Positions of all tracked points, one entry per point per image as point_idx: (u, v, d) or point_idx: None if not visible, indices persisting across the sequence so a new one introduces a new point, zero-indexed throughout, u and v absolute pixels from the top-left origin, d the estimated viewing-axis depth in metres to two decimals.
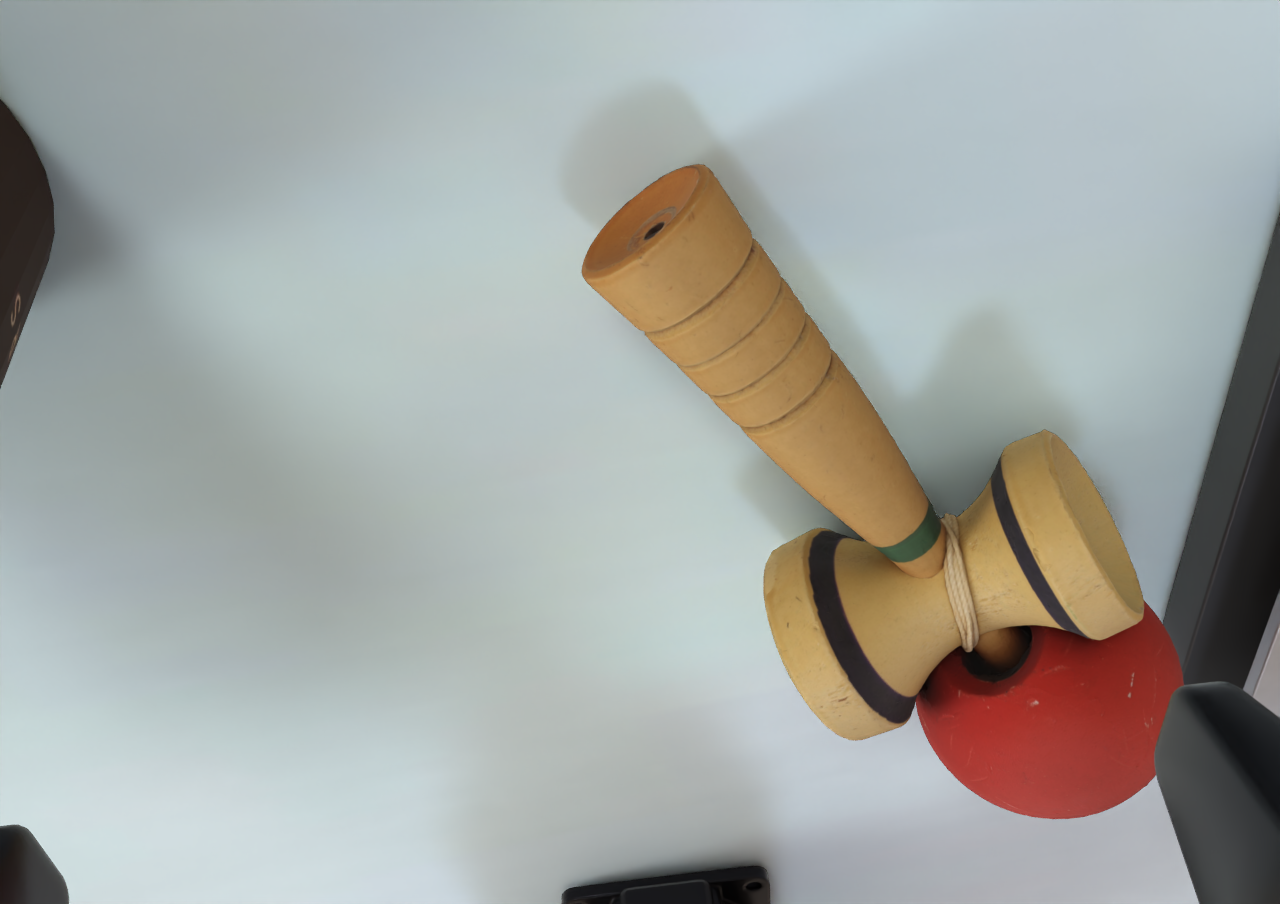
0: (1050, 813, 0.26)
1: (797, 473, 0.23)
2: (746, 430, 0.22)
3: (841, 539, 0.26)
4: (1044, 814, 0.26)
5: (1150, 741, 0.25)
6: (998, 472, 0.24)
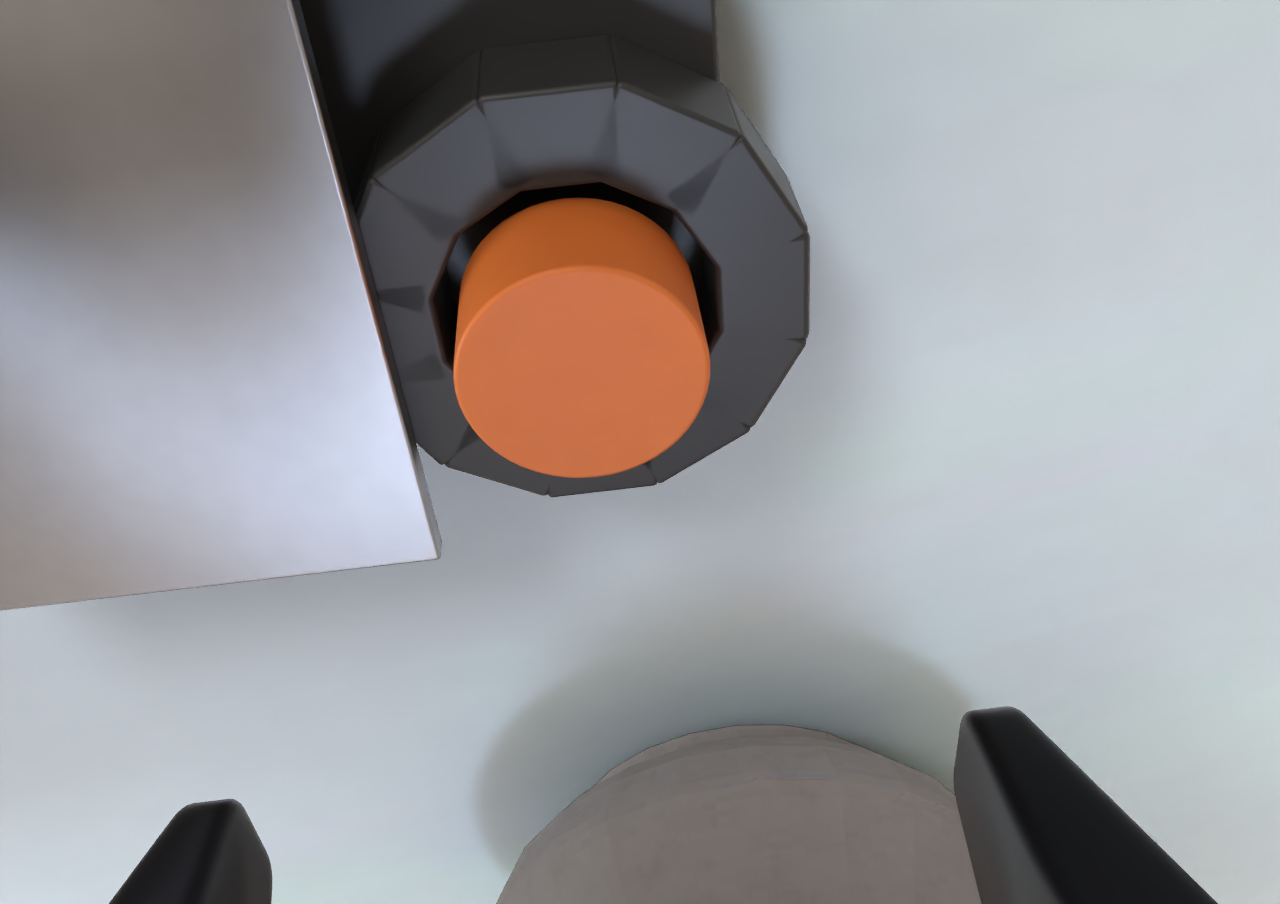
0: None
1: None
2: None
3: None
4: None
5: None
6: None
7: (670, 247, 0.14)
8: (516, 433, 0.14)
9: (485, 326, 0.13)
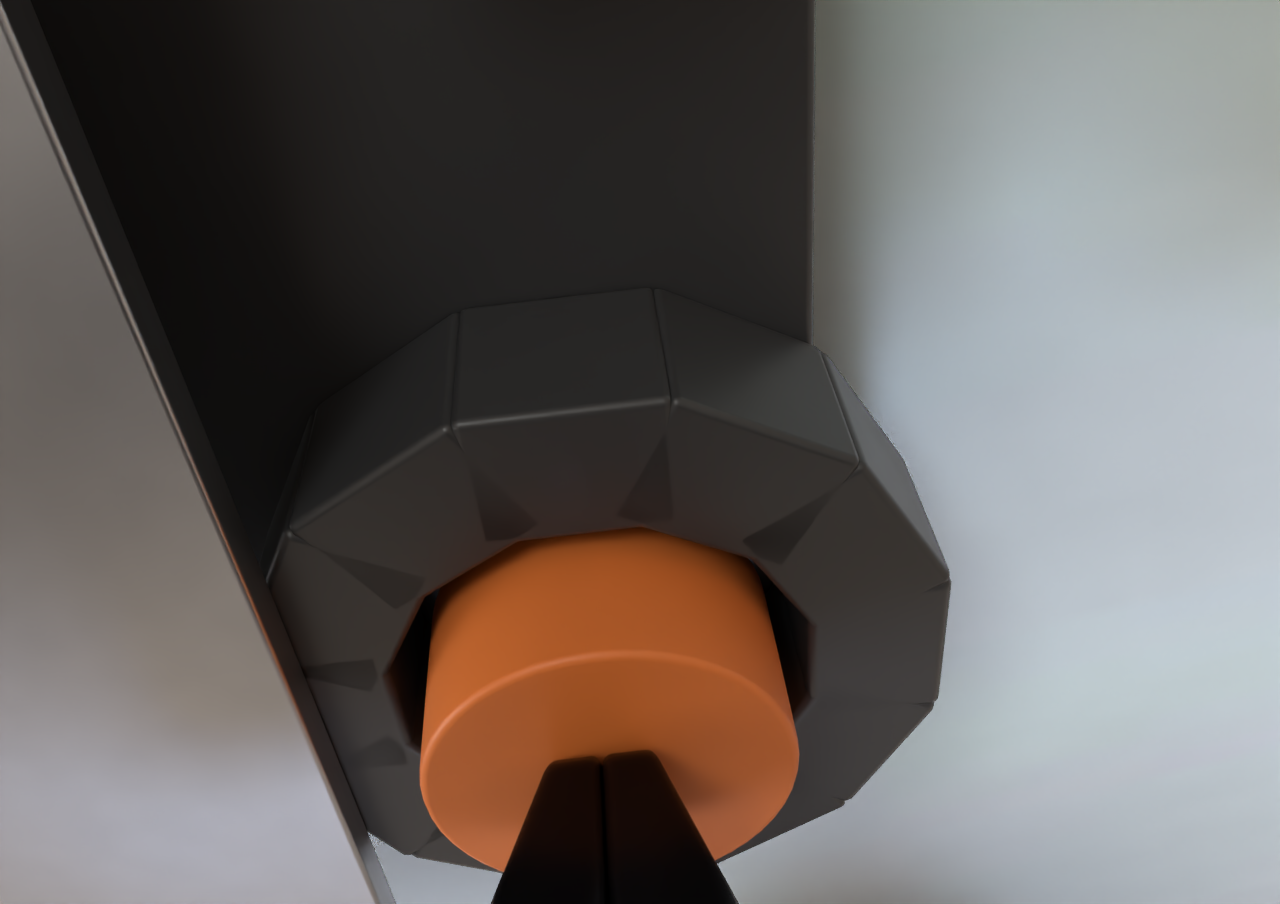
0: None
1: None
2: None
3: None
4: None
5: None
6: None
7: (737, 569, 0.10)
8: (513, 844, 0.10)
9: (466, 728, 0.09)
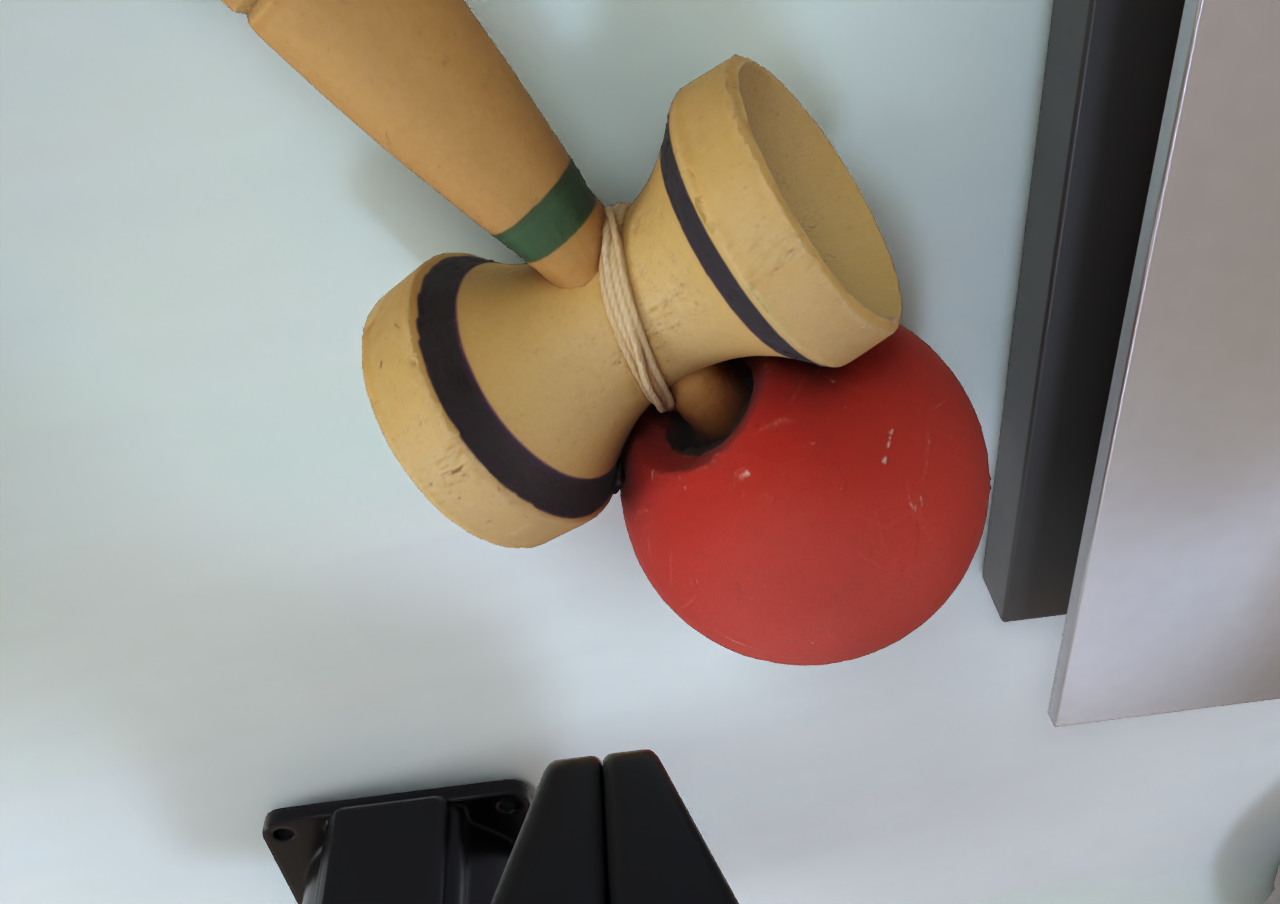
0: (789, 650, 0.18)
1: (334, 92, 0.15)
2: (249, 21, 0.14)
3: (493, 262, 0.18)
4: (782, 652, 0.18)
5: (920, 532, 0.17)
6: None
7: None
8: None
9: None
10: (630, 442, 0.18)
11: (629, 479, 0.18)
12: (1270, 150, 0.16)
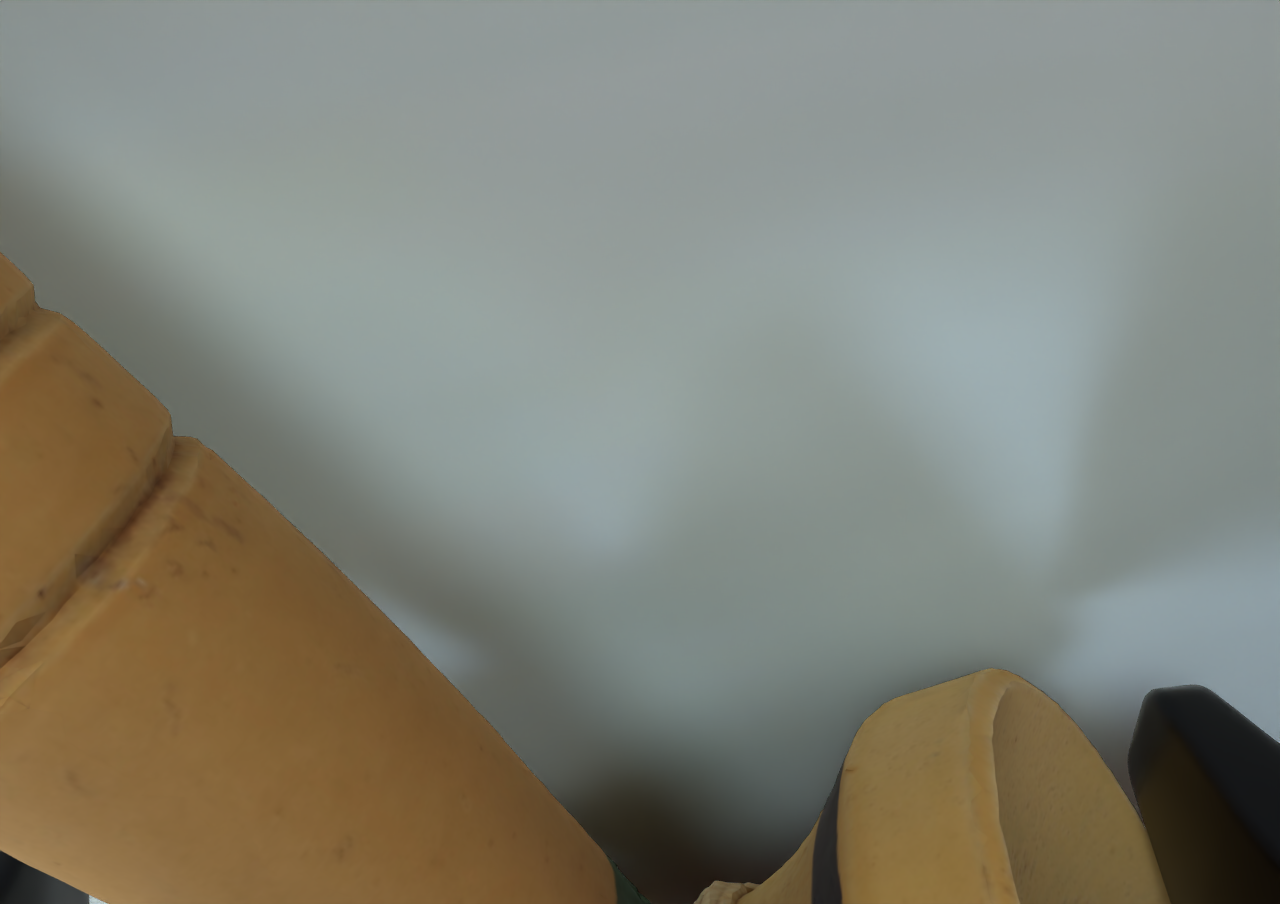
0: None
1: (90, 894, 0.06)
2: None
3: None
4: None
5: None
6: (830, 827, 0.07)
7: None
8: None
9: None
10: None
11: None
12: None
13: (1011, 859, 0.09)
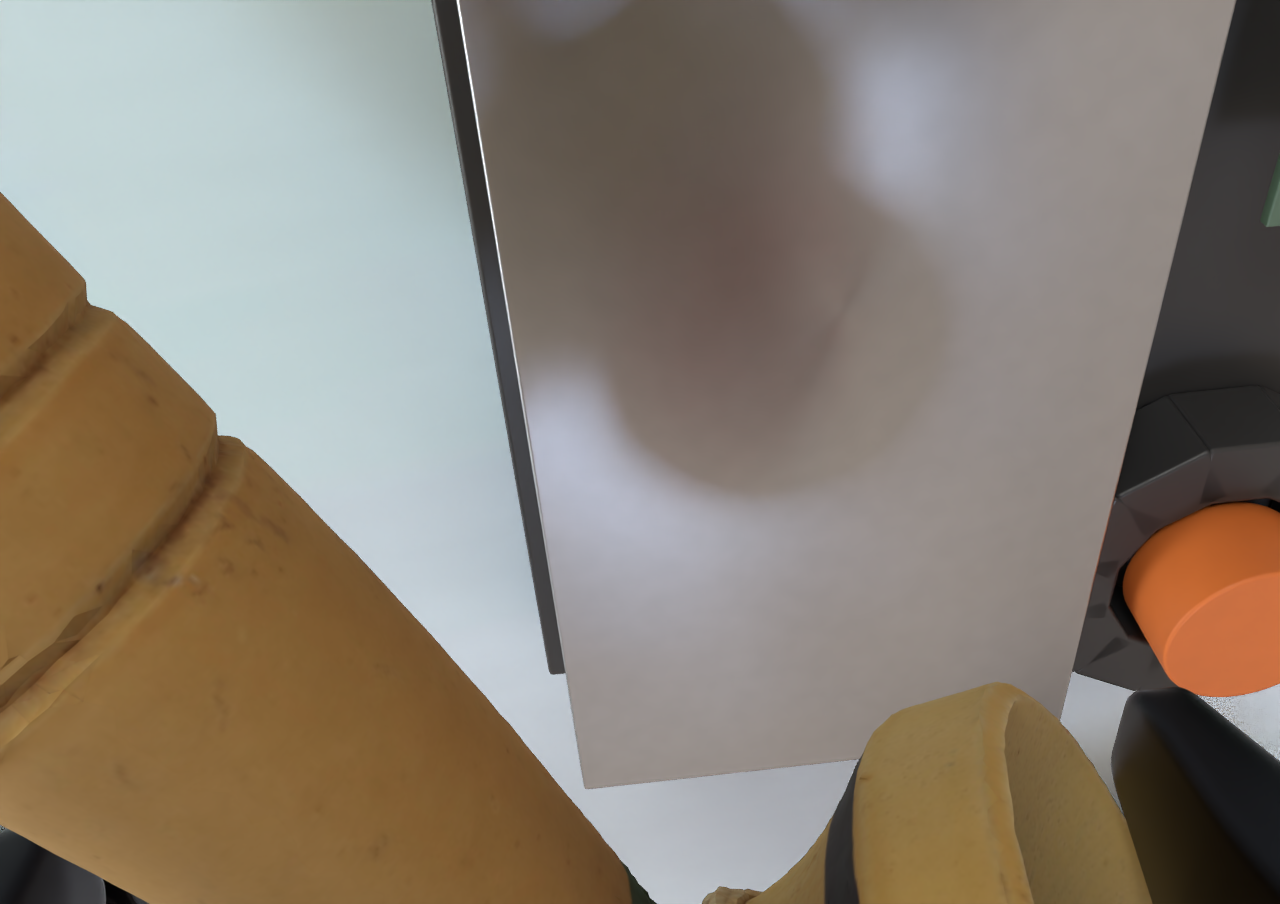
0: None
1: (123, 886, 0.06)
2: None
3: None
4: None
5: None
6: (844, 833, 0.08)
7: None
8: (1194, 670, 0.19)
9: (1209, 607, 0.19)
10: None
11: None
12: (601, 185, 0.14)
13: None
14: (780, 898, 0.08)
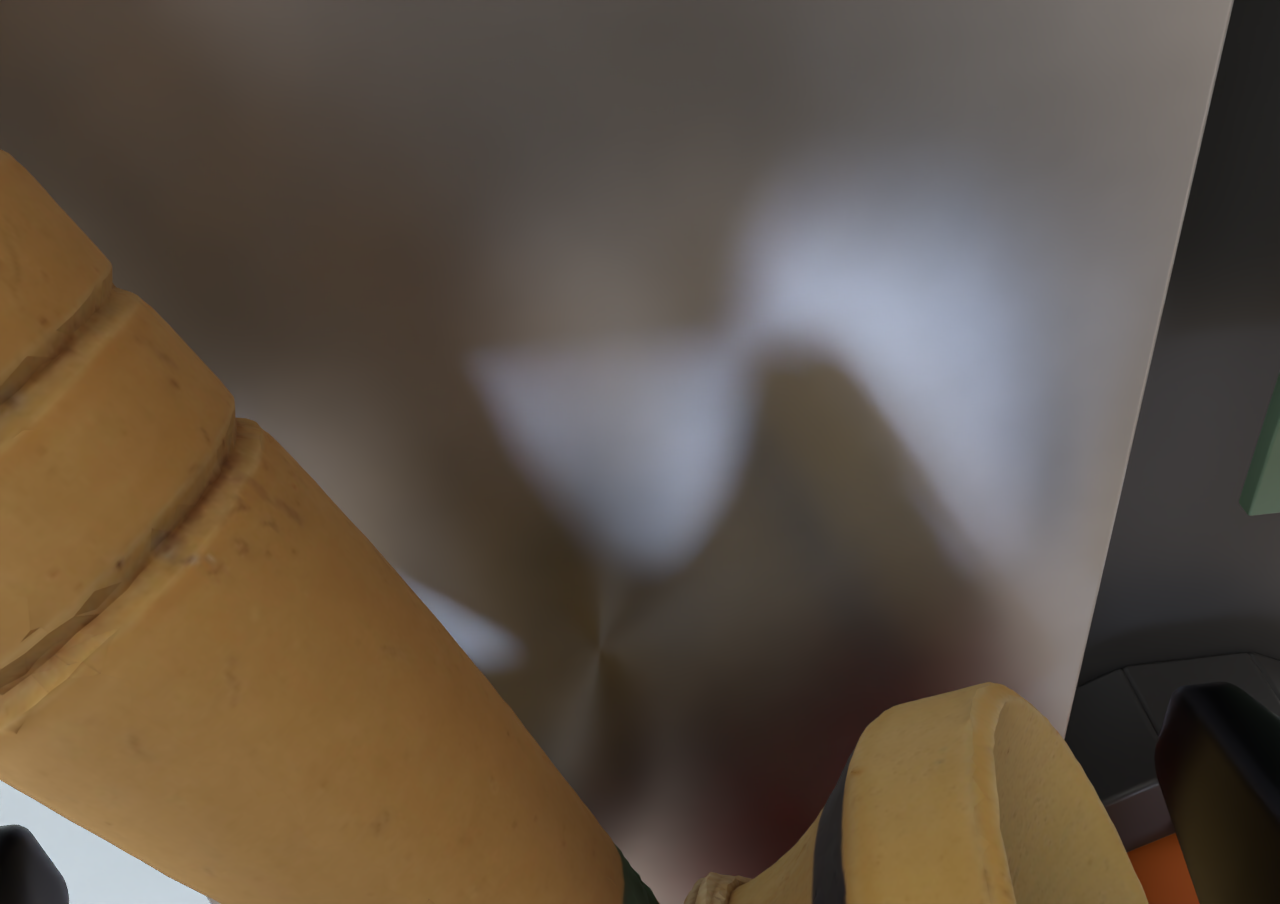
0: None
1: (130, 854, 0.07)
2: None
3: None
4: None
5: None
6: (834, 825, 0.08)
7: None
8: None
9: None
10: None
11: None
12: None
13: None
14: (769, 885, 0.09)
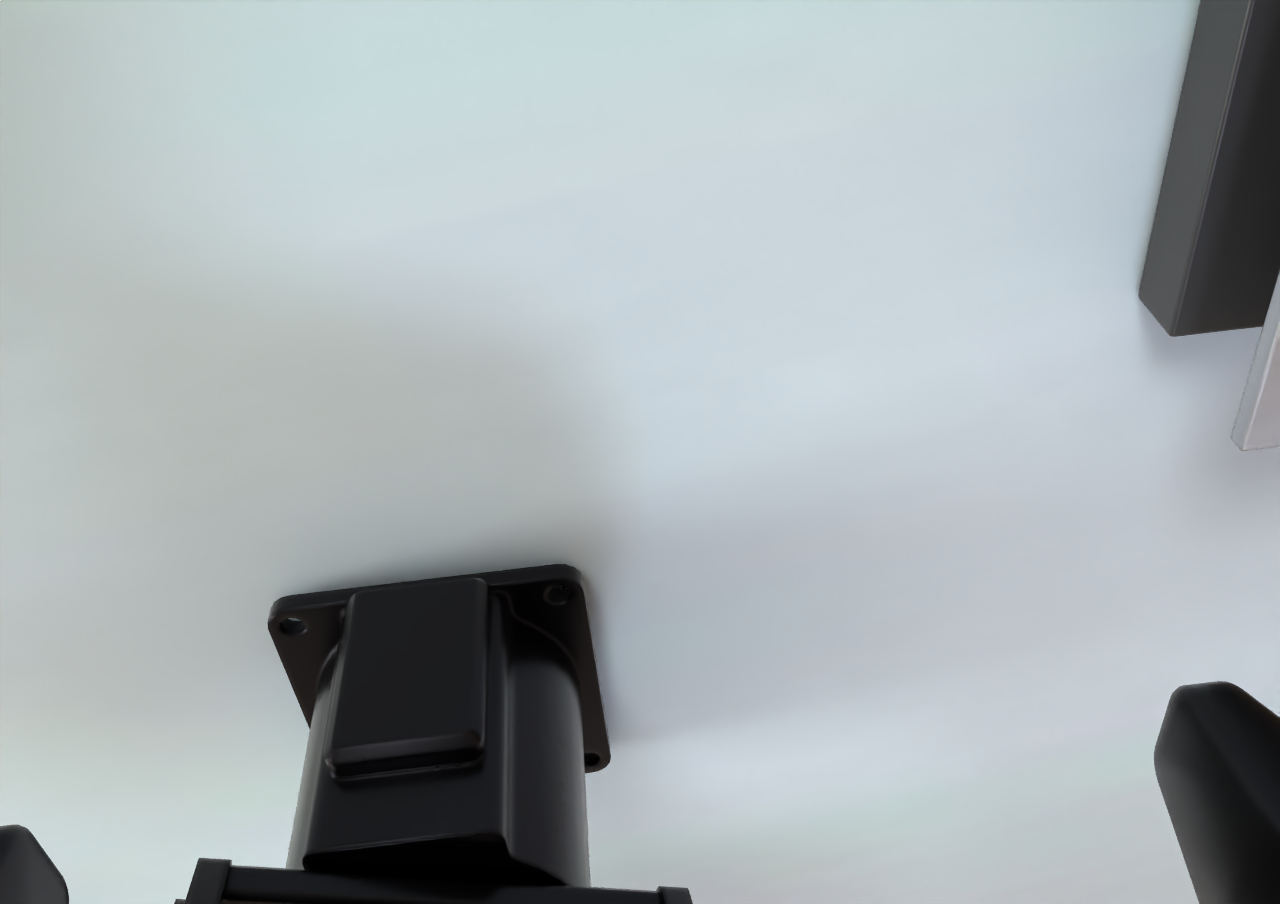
0: None
1: None
2: None
3: None
4: None
5: None
6: None
7: None
8: None
9: None
10: None
11: None
12: None
13: None
14: None
